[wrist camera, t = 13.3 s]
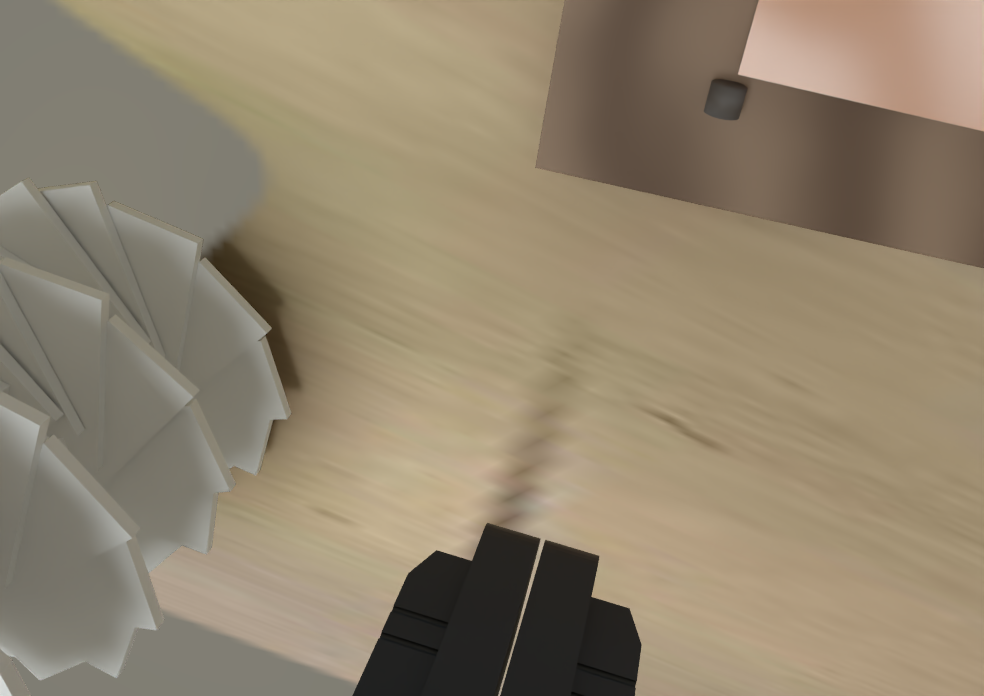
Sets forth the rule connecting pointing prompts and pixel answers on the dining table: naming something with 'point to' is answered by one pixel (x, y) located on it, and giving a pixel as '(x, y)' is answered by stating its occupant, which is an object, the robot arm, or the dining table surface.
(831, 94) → the flip tile
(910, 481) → the dining table surface
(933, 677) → the dining table surface
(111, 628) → the spiral staircase
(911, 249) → the board
